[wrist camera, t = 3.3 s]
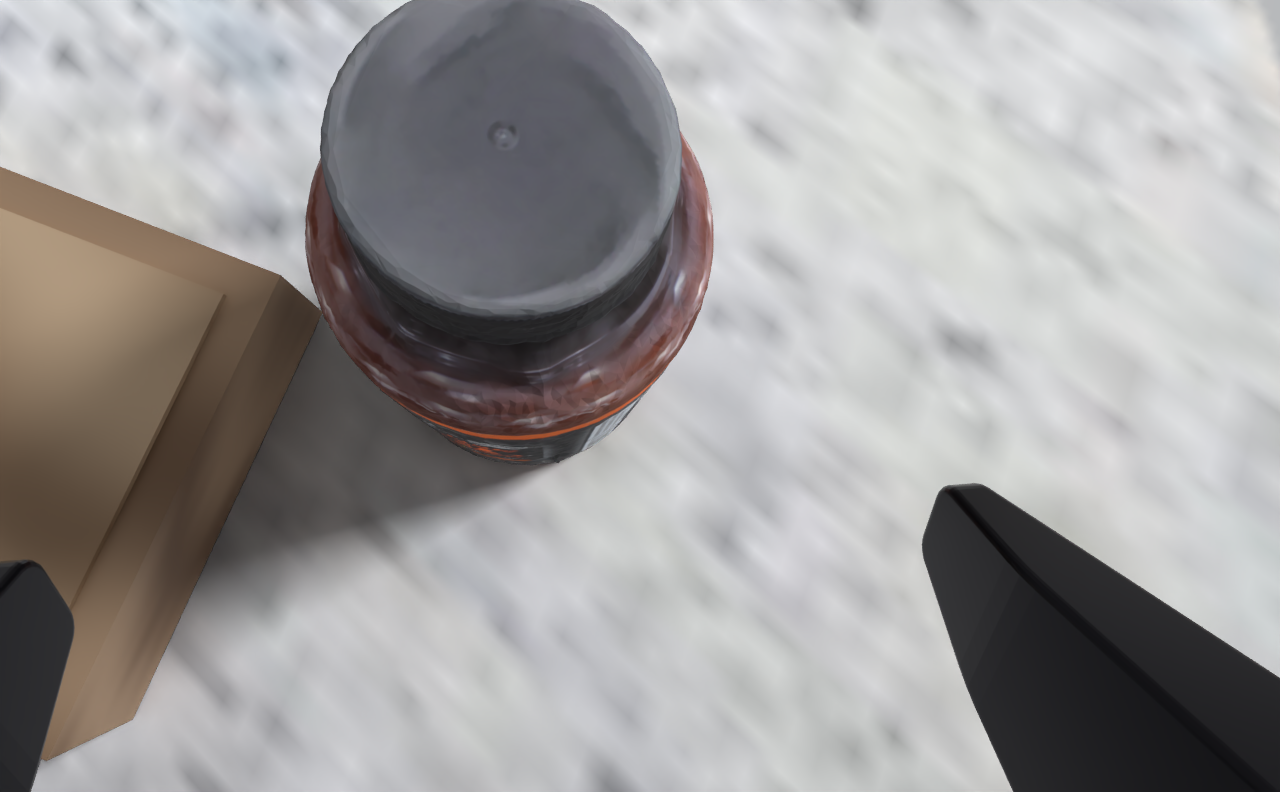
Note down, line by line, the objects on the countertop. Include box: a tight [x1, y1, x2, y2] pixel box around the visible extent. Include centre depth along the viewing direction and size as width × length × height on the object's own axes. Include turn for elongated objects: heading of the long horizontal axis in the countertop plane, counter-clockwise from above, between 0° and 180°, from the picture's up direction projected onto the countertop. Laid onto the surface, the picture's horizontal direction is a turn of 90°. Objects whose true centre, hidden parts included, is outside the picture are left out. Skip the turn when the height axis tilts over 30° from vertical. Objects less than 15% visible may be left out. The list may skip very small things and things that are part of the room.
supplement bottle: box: [305, 0, 713, 465], centre depth 14 cm, size 6×6×11 cm
